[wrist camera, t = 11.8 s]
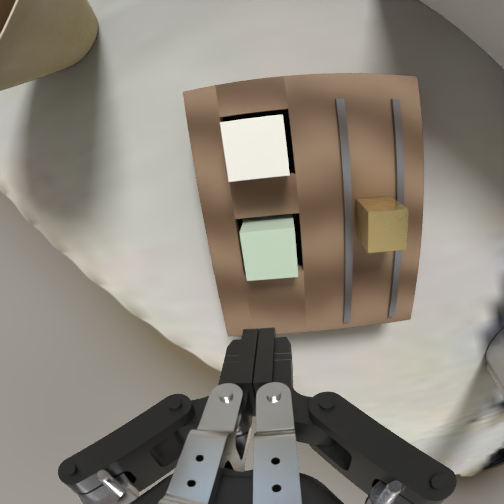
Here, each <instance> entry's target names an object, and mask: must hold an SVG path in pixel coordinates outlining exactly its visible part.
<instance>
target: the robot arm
mask: <svg viewBox="0 0 504 504" xmlns="http://www.w3.org/2000/svg"><path fill="white" fill-rule="evenodd" d="M486 361H487V365H486V369H487V370H488V372H489V374H490V375H491V377H492V379H493V380H494V382H495V384H496V386H497V387H498V389H499V391H500V393H501V394H502V396H503V398H504V328H503V329H502V330H501V331H500V332H499V333H498V334H497V335H496V337H495V338H494V339H493V341H492V342H491V344H490V346H489V347H488V350H487V352H486ZM252 416H256V434H254V459H253V460H254V462H253V470H249V471H245V468H244V466H245V460H246V455H247V450H248V446H249V441H250V437H251V432H252V427H251V424H252ZM296 441H298V442H303V443H308V444H310V446H311V447H312V449H314V450H315V451H316V452H317V453H318V454H319V455H320V456H322V457H323V458H324V459H325V460H326V461H327V462H328V463H330V464H331V465H332V466H333V467H334V468H335V469H337V470H338V471H339V472H340V473H342V474H343V475H344V476H345V477H346V478H347V479H349V480H350V481H351V482H352V483H354V484H355V485H356V486H357V487H359V488H360V489H361V490H363V491H364V492H365V493H366V494H368V497H367V498H366V501H365V504H441V503H442V502H443V501H444V500H445V499H446V498H447V497H448V496H450V495H451V494H452V492H453V491H454V489H455V487H456V476H455V474H454V472H453V471H452V470H451V469H449V468H448V467H446V466H444V465H443V464H441V463H439V462H438V461H436V460H435V459H433V458H431V457H430V456H428V455H427V454H425V453H423V452H422V451H420V450H419V449H417V448H416V447H414V446H413V445H411V444H409V443H408V442H406V441H405V440H403V439H402V438H400V437H399V436H397V435H396V434H394V433H393V432H391V431H390V430H388V429H387V428H385V427H384V426H382V425H381V424H380V423H378V422H377V421H375V420H374V419H372V418H371V417H369V416H368V415H367V414H365V413H364V412H362V411H361V410H359V409H358V408H357V407H355V406H354V405H352V404H351V403H350V402H348V401H347V400H346V399H344V398H343V397H341V396H340V395H338V394H336V393H334V392H322V393H319V394H317V395H315V396H314V397H307V396H303V395H300V394H299V393H297V392H296V391H295V390H294V389H293V366H292V353H291V343H290V342H289V340H288V339H287V337H279V338H276V330H275V327H271V328H260V329H259V328H255V329H243V333H242V339H241V340H233V341H232V342H231V343H230V344H229V346H228V347H227V350H226V356H225V359H224V363H223V368H222V372H221V376H220V380H219V385H218V386H217V387H215V388H214V389H213V390H212V391H211V393H210V395H209V396H207V397H205V398H201V399H196V400H192V401H191V400H190V399H189V398H188V397H187V396H185V395H183V394H174V395H170V396H168V397H166V398H165V399H163V400H162V401H160V402H159V403H157V404H156V405H154V406H153V407H151V408H150V409H148V410H147V411H145V412H144V413H142V414H140V415H139V416H137V417H136V418H134V419H133V420H131V421H129V422H128V423H126V424H125V425H123V426H122V427H120V428H118V429H117V430H115V431H114V432H112V433H110V434H109V435H107V436H105V437H104V438H102V439H100V440H99V441H97V442H95V443H94V444H92V445H90V446H88V447H87V448H85V449H83V450H82V451H80V452H78V453H76V454H75V455H73V456H71V457H69V458H68V459H66V460H64V461H63V462H62V463H61V464H60V466H59V469H58V475H59V478H60V480H61V481H62V482H64V483H65V484H66V485H67V486H68V487H70V488H71V489H72V490H73V491H74V492H75V493H76V494H77V495H78V496H79V497H80V499H81V501H82V502H83V504H344V503H343V502H341V500H339V499H338V498H337V497H336V496H335V495H334V494H333V493H332V492H331V491H330V490H329V489H328V488H327V487H326V486H325V485H324V484H322V483H321V482H319V481H318V480H317V479H315V478H313V477H311V476H308V475H306V474H302V473H299V467H298V456H297V445H296ZM174 468H175V471H174V473H173V474H172V475H170V476H168V477H166V478H165V479H163V480H162V481H161V482H159V483H158V484H157V485H155V486H154V487H152V488H151V489H150V490H148V491H147V492H145V493H144V494H143V495H141V496H139V492H140V491H142V490H143V489H145V488H146V487H148V486H149V485H151V484H152V483H154V482H155V481H157V480H158V479H160V478H161V477H163V476H164V475H166V474H167V473H169V472H170V471H171V470H173V469H174Z"/></svg>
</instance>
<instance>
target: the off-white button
mask: <svg viewBox="0 0 504 504" xmlns="http://www.w3.org/2000/svg"><path fill="white" fill-rule="evenodd" d="M220 127H221V134H222V141H223V148H224V154H225V161H226V168H227V174H228V181H229V182H233V181H242V180H250V179H259V178H269V177H279V176H289V175H290V172H289V163H288V154H287V145H286V136H285V128H284V120H283V114H282V115H272V116H263V117H255V118H247V119H240V120H233V121H226V122H220Z"/></svg>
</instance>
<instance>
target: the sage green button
mask: <svg viewBox="0 0 504 504" xmlns="http://www.w3.org/2000/svg"><path fill="white" fill-rule="evenodd" d="M240 240H241V246H242V253H243V259H244V266H245V272H246V278H247V281H253V280H266V279H279V278H291V277H298V265H297V252H296V239H295V228H294V221H293V214H283V215H272V216H261V217H251V218H244V221H243V224H242V227H241V230H240Z"/></svg>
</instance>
